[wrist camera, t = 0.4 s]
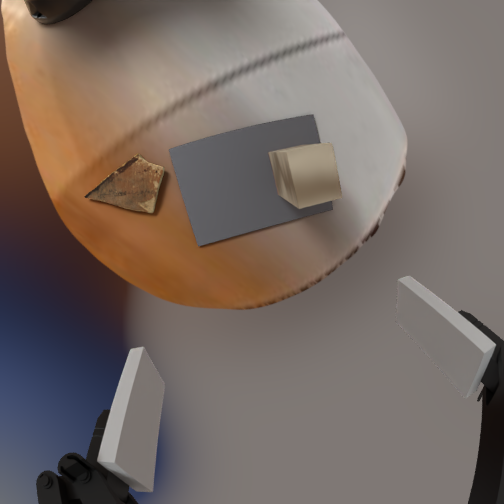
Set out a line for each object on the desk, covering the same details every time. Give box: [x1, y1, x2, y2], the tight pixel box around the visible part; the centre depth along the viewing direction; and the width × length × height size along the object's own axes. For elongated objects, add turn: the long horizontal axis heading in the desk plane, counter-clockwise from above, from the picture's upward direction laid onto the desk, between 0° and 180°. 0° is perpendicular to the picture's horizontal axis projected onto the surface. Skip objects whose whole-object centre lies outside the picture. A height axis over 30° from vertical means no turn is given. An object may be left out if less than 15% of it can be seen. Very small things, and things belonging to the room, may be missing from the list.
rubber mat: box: [169, 115, 333, 246], centre depth 37 cm, size 14×20×1 cm
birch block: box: [268, 143, 342, 209], centre depth 32 cm, size 6×5×10 cm
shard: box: [85, 154, 164, 213], centre depth 34 cm, size 11×8×2 cm
